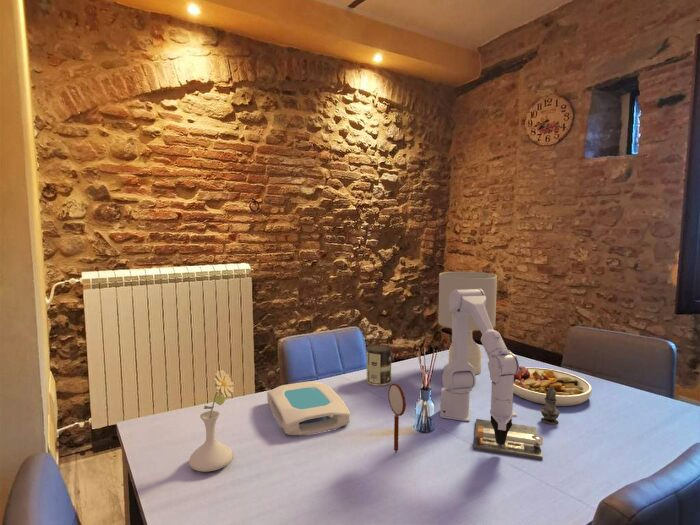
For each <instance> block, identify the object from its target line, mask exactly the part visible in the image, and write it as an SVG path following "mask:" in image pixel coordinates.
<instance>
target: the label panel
mask: <svg viewBox="0 0 700 525" xmlns="http://www.w3.org/2000/svg"><path fill="white" fill-rule="evenodd" d="M478 426H483V428H489V429H494V428H493V426H492V424H491V420H487V419H481V418H480V419H479V418H476V419H475V432H474V433H475V434H474V446H473V447H474V448H473V449H474V450H476V451H483V452H488V453H489V452H490V453H496V454H503V455H509V456H515V457H521V458H527V459H528V458H529V459H535V460H538V461H539V460H541V461H542V460H543V457H544V456H543V452H542V448H541V445H532V444H525V443H518V442H512V441H505V444H504V445H502V444H497V443H496V439H491V438H485V437H483V438H477V434H478ZM509 431H510V432H517V433H524V434H531V435H538V431H537V426H531V425H525V424H517V423H512V426H511V428H510V429H509ZM538 436H539V435H538Z"/></svg>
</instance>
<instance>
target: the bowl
mask: <svg viewBox="0 0 700 525" xmlns="http://www.w3.org/2000/svg"><path fill="white" fill-rule="evenodd" d="M550 386H552V388H553V389H554V390H555V391H556V400H557V401H556V405H555V406H556V407H570V406H576V405H581V404H583V403H585V402H586V401H587V400H588V399H589V398H590V396H591V394H592V385H591V384H590V383H589V382H588V381H586V379H584V378H581V377H579V376H577V375H575V374H572V373H569V372H564V371H562V370H557V369H550V368H544V367H525V366H521V365H519V371H518V373H517V374H514V385H513V395H516V396H518V397H520V398H522V399H524V400H527V401H529V402H533V403H536V404H540V405H545V398H546V390H547V389H548V388H550Z"/></svg>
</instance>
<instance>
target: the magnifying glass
mask: <svg viewBox="0 0 700 525" xmlns="http://www.w3.org/2000/svg"><path fill="white" fill-rule="evenodd" d="M387 396H388V402H389V406H390V408H391V411H392V413H394V416H393V417H394V419H393V420H394V421H393V423H394V424H393V425H394V426H393V428H394V429H393V431H394V432H393V436H394V437H393V439H394V440H393V451H394V453H395V454H397V453H398V451H399V428H400V427H399V424H400V423H399V422H400V421H399V417H401V416H402V415H404V413H405V411H406V408H407V407H406V405H407V404H406V397H405V393H404V391H403V389H402V387H401V386H400V385H399V384H398V383H392V384H391V385H390V386H389V387H388V394H387Z"/></svg>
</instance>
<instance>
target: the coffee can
mask: <svg viewBox="0 0 700 525" xmlns="http://www.w3.org/2000/svg"><path fill="white" fill-rule="evenodd" d="M365 350H366V383H367V384H369V385H370V386H377V387H378V386H379V387H380V386H381V387H382V386H388V385H390V384H391V383H392V347H391V346H389V345H386V344H371V345H368V346H367V347H366V349H365Z"/></svg>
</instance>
